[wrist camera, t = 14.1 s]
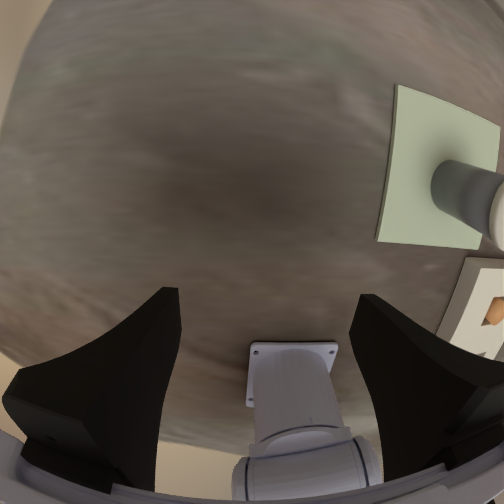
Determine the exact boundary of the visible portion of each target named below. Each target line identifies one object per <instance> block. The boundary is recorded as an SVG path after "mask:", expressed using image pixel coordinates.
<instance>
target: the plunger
mask: <svg viewBox="0 0 504 504" xmlns="http://www.w3.org/2000/svg"><path fill="white" fill-rule="evenodd" d="M485 318H486V319H487V320H488V321H489V322H490V323H491V324H492V325H493V326H495V325H497V324H499V323H500V322H501V321H502V320H503V318H504V301H503V300H502V299H501V298H500V297H493V300H492V302H491V304H490V307H489V309H488V311H487V313H486V316H485Z"/></svg>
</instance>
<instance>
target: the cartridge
mask: <svg viewBox="0 0 504 504" xmlns="http://www.w3.org/2000/svg"><path fill="white" fill-rule="evenodd" d="M431 196H432V200H433V202H434V204H435V205H436V207H437V208H438V209H440V210H441V211H443V212H445V213H447V214H448V215H450V216H452V217H454V218H456V219H457V220H459V221H461V222H463V223H464V224H466V225H468V226H470V227H471V228H473V229H475V230H476V231H478V232H480V233H481V234H483V235H485V236H486V237H488V238H489V239H491V240H492V241H493V243H494V244H495V246H497V247H498V248H499V249H501V250H502V251H504V175H502V174H499V173H496V172H493V171H489V170H486V169H483V168H480V167H476V166H473V165H469V164H466V163H462V162H459V161H455V160H446V161H444V162H442V163H441V164H440V165H439V166H438V167H437V168H436V170H435V172H434V174H433V176H432V180H431Z"/></svg>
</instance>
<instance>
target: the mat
mask: <svg viewBox="0 0 504 504" xmlns="http://www.w3.org/2000/svg"><path fill="white" fill-rule="evenodd" d="M499 139H500V127H499V126H497V125H495V124H493V123H491V122H490V121H488V120H486V119H484V118H482V117H480V116H477V115H475V114H473V113H471V112H469V111H467V110H465V109H462V108H460V107H458V106H455V105H453V104H451V103H448V102H446V101H443V100H441V99H438V98H436V97H433V96H430V95H428V94H425V93H422V92H419V91H416V90H413V89H410V88H407V87H404V86H401V85H395V97H394V113H393V125H392V135H391V144H390V153H389V161H388V168H387V175H386V182H385V188H384V194H383V200H382V206H381V211H380V217H379V222H378V227H377V232H376V237H375V239H376V240H377V241H380V242H393V243H406V244H418V245H431V246H442V247H454V248H465V249H476V250H478V248H479V245H480V241H481V238H482V234H481V233H480V232H478V231H476V230H475V229H473V228H471V227H470V226H468V225H466V224H464V223H463V222H461V221H459V220H457V219H456V218H454V217H452V216H450V215H448V214H447V213H445V212H443V211H441V210H440V209H438V208H437V207H436V205H435V204H434V202H433V200H432V196H431V180H432V176H433V174H434V172H435V170H436V168H437V167H438V166H439V165H440V164H441V163H442V162H444V161H446V160H455V161H459V162H462V163H466V164H469V165H473V166H476V167H480V168H483V169H486V170H489V171H493V172H496V166H497V158H498V149H499Z"/></svg>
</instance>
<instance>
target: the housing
mask: <svg viewBox="0 0 504 504" xmlns="http://www.w3.org/2000/svg"><path fill="white" fill-rule="evenodd" d="M493 297H500V298H501V299H502V300H503V301H504V259H492V258H478V257H466V258H465V261H464V265H463V268H462V271H461V274H460V276H459V279H458V282H457V285H456V288H455V290H454V293H453V295H452V298H451V301H450V303H449V306H448V308H447V310H446V313H445V315H444V317H443V320H442V322H441V324H440V326H439V329H438V331H437V333H436V336H437V337H439V338H441V339H443V340H445V341H447V342H449V343H450V344H453V345H455V346H457V347H459V348H461V349H464V350H466V351H468V352H471V353H473V354H476V355H479V356H482V357H485V358H488V359H491V360H493V359H494V358H495V356H496V354H497V352H498V351H499V349H500V347H501V345H502V344H503V342H504V318H503V320H502V321H501V322H500V323H499V324H497V325H495V326H493V325H492V324H491V323H490V322H489V321H488V320H487V319H486V318H485V316H486V313H487V311H488V309H489V307H490V304H491V302H492V300H493Z"/></svg>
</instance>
